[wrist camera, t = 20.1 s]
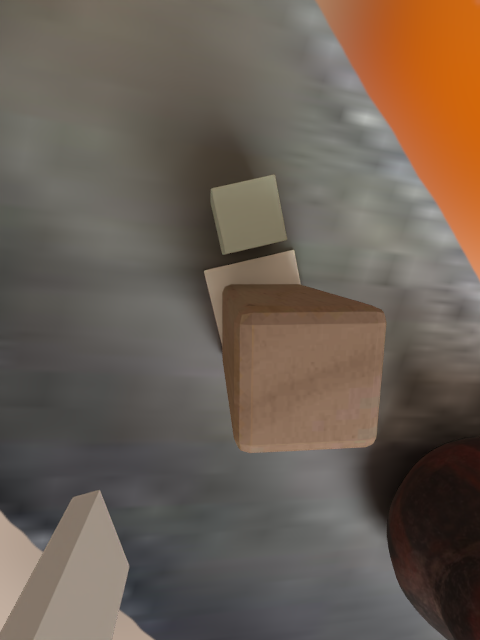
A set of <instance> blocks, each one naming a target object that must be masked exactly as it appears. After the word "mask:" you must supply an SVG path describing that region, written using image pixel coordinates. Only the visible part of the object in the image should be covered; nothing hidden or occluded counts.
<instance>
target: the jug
mask: <svg viewBox="0 0 480 640" xmlns="http://www.w3.org/2000/svg"><path fill="white" fill-rule="evenodd" d="M387 540H388V548H389V553H390V557H391V561H392V564H393V568H394V571H395V575H396V578H397V580H398V583H399V585H400V587H401V589H402V591H403V592H404V594H405V596H406V597H407V599H408V600H409V601H410V603H411V604H412V605H413V606H414V608H415V609H416V610H417V611H418V612H419V614H420V615H421V616H422V617H423V618H424V619H425V620H426V621H427V622H428V623H429V624H430V625H431V626H432V627H433V628H435V629H436V630H437V631H438V632H439V633H440V634H441V635H443V636H444V637H445V638H446V639H448V640H480V437H471V438H464V439H460V440H456V441H452V442H449V443H446V444H444V445H441V446H440V447H438V448H436V449H434V450H432V451H431V452H429V453H428V454H426V455H425V456H424V457H423V458H422V459H420V460H419V461H418V462H417V463H416V464H415V465H414V466H413V467H412V469H411V470H410V471H409V473H408V474H407V475H406V477H405V478H404V480H403V482H402V483H401V485H400V487H399V488H398V490H397V492H396V494H395V496H394V499H393V501H392V503H391V507H390V511H389V515H388V520H387Z"/></svg>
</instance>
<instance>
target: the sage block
mask: <svg viewBox="0 0 480 640" xmlns="http://www.w3.org/2000/svg"><path fill="white" fill-rule="evenodd" d="M210 203H211V208H212V212H213V216H214V221H215V225H216V229H217V234H218V238H219V242H220V247H221V251H222V255H224V254H229V253H233V252H237V251H242V250H246V249H250V248H255V247H259V246H264V245H268V244H272V243H277V242H281V241H285V240H287V236H286V231H285V226H284V220H283V215H282V210H281V205H280V199H279V194H278V189H277V184H276V178H275V175H270V176H266V177H261V178H257V179H252V180H247V181H243V182H238V183H234V184H229V185H225V186H220V187H215V188H211V199H210Z"/></svg>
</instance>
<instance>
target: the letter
mask: <svg viewBox="0 0 480 640" xmlns="http://www.w3.org/2000/svg"><path fill="white" fill-rule="evenodd" d="M204 274H205V278H206V282H207V286H208V290H209V294H210V298H211V303H212V307H213V311H214V315H215V319H216V323H217V327H218V331H219V335H220V339H221V343H222V292H223V290H224V288H225V287H226V286H228V285H230V284H300V279H299V273H298V268H297V263H296V257H295V252H294V250H290V251H286V252H282V253H277V254H273V255H269V256H264V257H260V258H256V259H252V260H247V261H243V262H239V263H234V264H230V265H226V266H221V267H217V268H213V269H208V270H204ZM300 285H301V284H300ZM222 347H223V345H222Z"/></svg>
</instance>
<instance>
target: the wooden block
mask: <svg viewBox="0 0 480 640" xmlns="http://www.w3.org/2000/svg"><path fill="white" fill-rule="evenodd" d="M385 332H386V319H385V315H384V312H383V311H382V310H381V309H379V308H376V307H374V306H372V305H368V304H365V303H361V302H358V301H354V300H351V299H348V298H344V297H341V296H337V295H334V294H330V293H327V292H324V291H320V290H317V289H313V288H310V287H306V286H303V285H300V284H230V285H228V286H226V287H225V288H224V290H223V292H222V345H223V366H224V373H225V379H226V386H227V393H228V400H229V407H230V414H231V421H232V428H233V434H234V439H235V441H236V444H237V446H238V448H239V449H240V450H241V451H245V452H248V453H258V452H278V451H299V450H319V449H339V448H359V447H367V446H369V445H372V444H373V443H374V441H375V439H376V435H377V424H378V412H379V401H380V389H381V378H382V367H383V355H384V344H385Z"/></svg>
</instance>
